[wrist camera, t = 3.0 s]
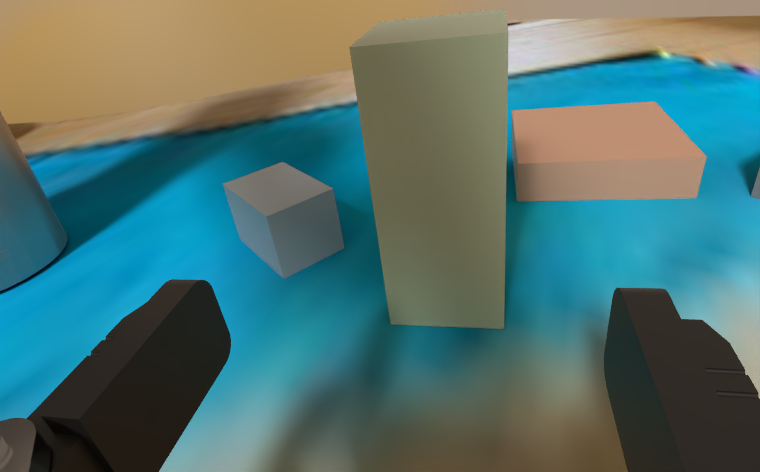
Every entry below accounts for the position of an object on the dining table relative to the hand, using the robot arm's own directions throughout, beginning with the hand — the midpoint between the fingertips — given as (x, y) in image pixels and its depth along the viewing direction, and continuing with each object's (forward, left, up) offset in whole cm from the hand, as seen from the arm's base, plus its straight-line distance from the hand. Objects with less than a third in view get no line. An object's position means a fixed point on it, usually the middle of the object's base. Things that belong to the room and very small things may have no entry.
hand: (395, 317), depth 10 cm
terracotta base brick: (-12, +24, -9) cm, 28 cm away
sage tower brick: (-8, +8, -8) cm, 14 cm away
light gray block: (-18, +4, -8) cm, 20 cm away
